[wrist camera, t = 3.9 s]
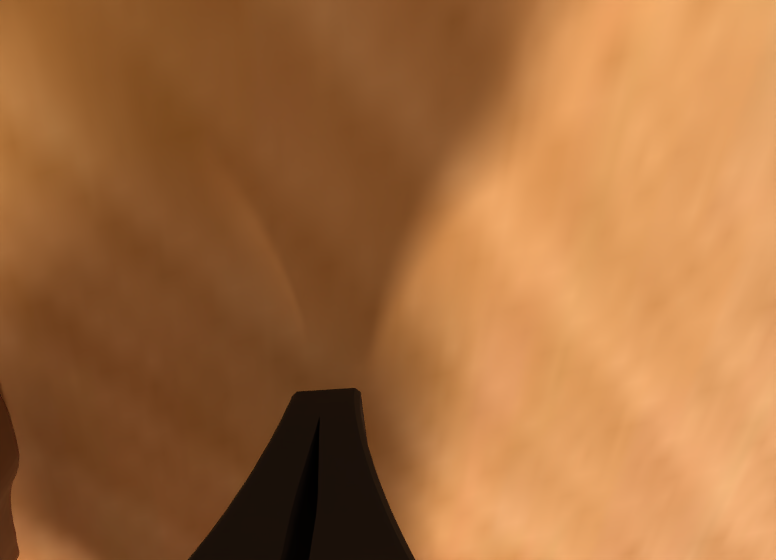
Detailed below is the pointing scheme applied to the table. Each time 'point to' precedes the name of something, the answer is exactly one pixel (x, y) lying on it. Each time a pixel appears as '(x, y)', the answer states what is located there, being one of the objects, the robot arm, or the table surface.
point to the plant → (7, 485)
